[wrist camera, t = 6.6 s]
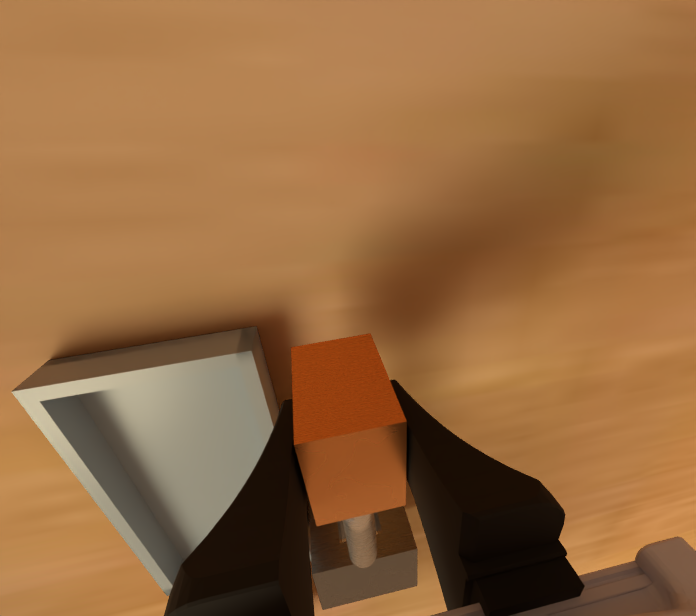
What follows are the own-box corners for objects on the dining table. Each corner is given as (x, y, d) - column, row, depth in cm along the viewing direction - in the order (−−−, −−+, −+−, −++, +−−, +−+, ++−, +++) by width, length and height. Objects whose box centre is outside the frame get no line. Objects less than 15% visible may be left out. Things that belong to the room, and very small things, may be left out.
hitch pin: (381, 508, 22) (404, 600, 18) (330, 520, 22) (342, 617, 17) (370, 333, 14) (406, 421, 10) (291, 347, 14) (293, 444, 10)
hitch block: (395, 511, 28) (417, 585, 23) (317, 529, 27) (322, 610, 22) (393, 474, 26) (417, 548, 21) (308, 493, 25) (312, 574, 20)
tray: (310, 527, 27) (312, 560, 25) (177, 557, 26) (166, 595, 24) (256, 326, 18) (251, 350, 16) (48, 360, 17) (11, 391, 15)
